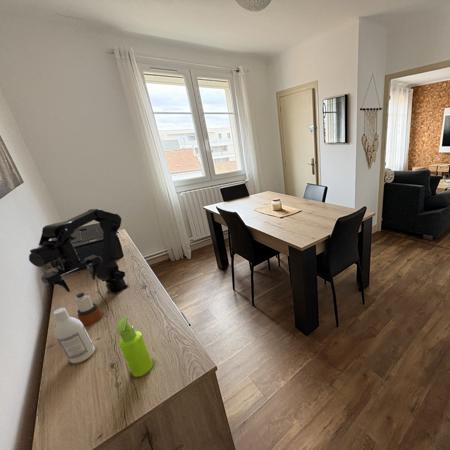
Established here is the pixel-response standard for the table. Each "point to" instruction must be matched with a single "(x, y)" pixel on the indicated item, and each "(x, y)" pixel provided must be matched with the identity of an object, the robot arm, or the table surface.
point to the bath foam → (72, 337)
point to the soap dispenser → (134, 349)
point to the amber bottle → (90, 315)
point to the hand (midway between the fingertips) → (81, 285)
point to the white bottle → (83, 302)
